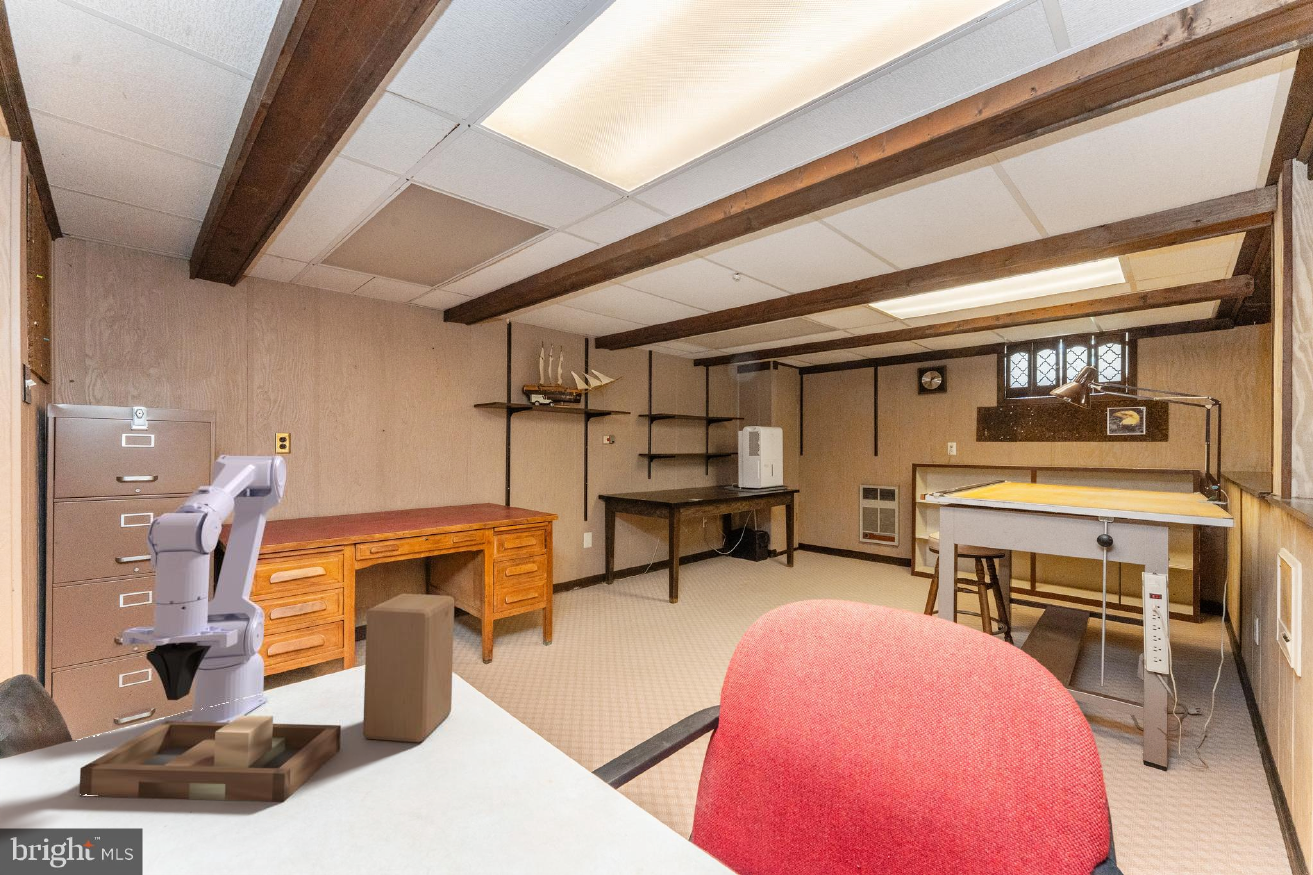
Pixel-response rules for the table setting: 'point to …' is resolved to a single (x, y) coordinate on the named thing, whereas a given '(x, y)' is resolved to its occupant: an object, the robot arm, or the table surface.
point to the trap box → (208, 764)
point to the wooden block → (408, 667)
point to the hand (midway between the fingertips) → (178, 696)
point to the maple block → (243, 741)
